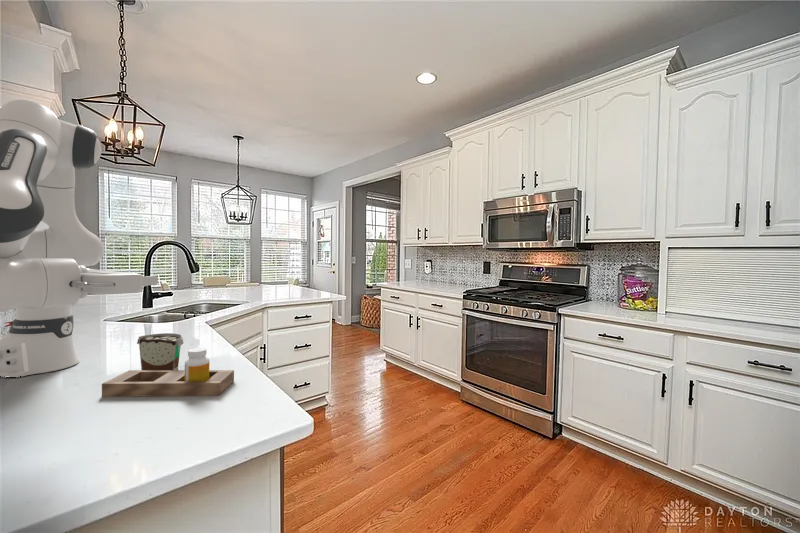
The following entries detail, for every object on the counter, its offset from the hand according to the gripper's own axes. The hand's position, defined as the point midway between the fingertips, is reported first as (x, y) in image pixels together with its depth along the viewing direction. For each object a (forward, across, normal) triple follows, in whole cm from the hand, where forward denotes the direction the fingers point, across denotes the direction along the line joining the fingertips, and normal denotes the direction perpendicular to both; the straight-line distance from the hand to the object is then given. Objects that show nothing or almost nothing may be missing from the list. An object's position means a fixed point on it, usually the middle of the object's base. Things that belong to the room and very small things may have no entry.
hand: (144, 279), depth 77 cm
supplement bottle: (+12, 0, +28) cm, 31 cm away
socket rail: (+9, +5, +28) cm, 30 cm away
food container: (+15, +20, +28) cm, 38 cm away
